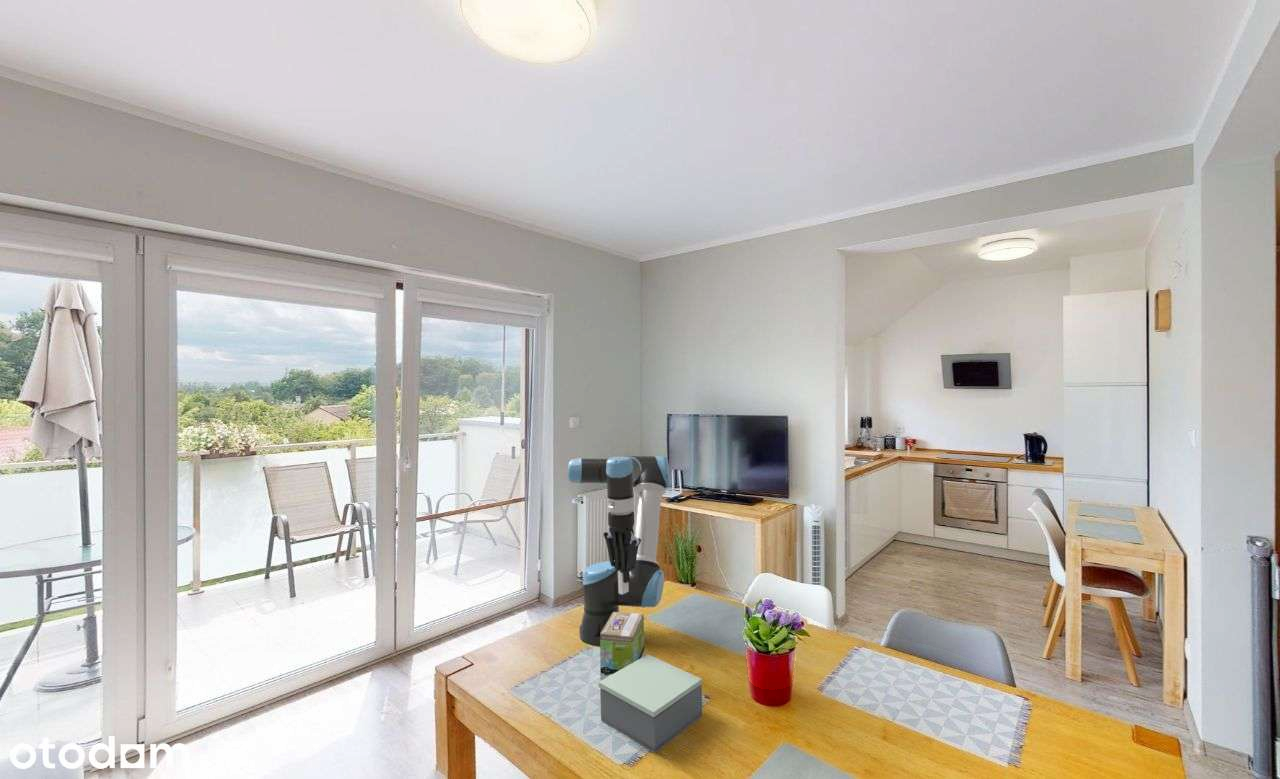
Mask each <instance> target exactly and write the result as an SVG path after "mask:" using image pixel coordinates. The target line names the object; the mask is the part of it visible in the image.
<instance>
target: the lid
mask: <svg viewBox="0 0 1280 779" xmlns="http://www.w3.org/2000/svg"><path fill="white" fill-rule="evenodd" d="M597 684H598V688H600V689H603V690H605V691H607V692H609V693H610V694H612V695H614V696H616V697H618V698H619V699H621V700H623V701H625V702H627V703H628V704H630V705H632V706H634V707H636V708H637V709H639V710H641V711H643V712H645V713H646V714H648V715H650V716H652V717H655V716H657V715H658V714H660V713H661V712H662V711H664V710H665V709H667V708H668V707H670V706H671V705H672V704H674V703H675V702H677V701H678V700H680V699H681V698H682V697H684V696H685V695H687V694H688V693H690V692H691V691H692V690H694V689H695V688H697V687H698V686H700V685H701V684H702V685H703V678H701V677H700V676H697V675H694V674H692V673H690V672H687V671H685V670H683V669H681V668H679V667H677V666H674V665H672V664H670V663H667V662H666V661H664V660H661V659H659V658H657V657H654V656H652V655H650V654H646V655H644V657H642V658H641V659H639V660H637V661H635V662H633V663H632V664H630V665H628V666H626V667H624V668H623V669H621V670H619V671H617V672H616V673H614V674H612V675H610V676H608V677H607V678H605V679H603V680H601V681H598V683H597Z"/></svg>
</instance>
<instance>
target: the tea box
mask: <svg viewBox="0 0 1280 779" xmlns="http://www.w3.org/2000/svg"><path fill="white" fill-rule="evenodd" d="M599 646H600V649H599V650H600V652H599V656H600V658H599V662H600V664H599V665H600V666H599V668H600V670H599V671H600V676H599V677H600V678H599V679H600V681H601V680H603V679H605V678H607V677H608V676H610V675H612V674H614V673H616V672H617V671H619V670H621V669H623V668H624V667H626V666H628V665H630V664H632V663H633V662H635V661H637V660H639V659H641V658H642V657H644V656H645V618H644V613H636V612H635V613H634V612H620V611H619V612H613V613H612V615H611V616H610V618H609V620H608V622H607V623H606V625H605V627H604V628H603V630H602V632H601V633H600V645H599Z"/></svg>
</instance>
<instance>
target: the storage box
mask: <svg viewBox="0 0 1280 779" xmlns="http://www.w3.org/2000/svg"><path fill="white" fill-rule="evenodd" d="M702 686H703V683H702V684H701V685H700V686H698V687H697V688H695V689H694V690H692V691H691V692H690V693H688V694H687V695H685V696H684V697H682V698H681V699H680V700H678V701H677V702H675V703H674V704H672V705H671V706H670V707H668V708H667V709H665V710H664V711H662V712H661V713H660V714H658V715H657V716H655V717H652V716H650V715H648V714H646V713H645V712H643V711H641V710H639V709H637V708H636V707H634V706H632V705H630V704H628V703H627V702H625V701H623V700H621V699H619V698H618V697H616V696H614V695H612V694H610V693H609V692H607V691H605V690H603V689H601V688H600V690H599V691H600V698H599V699H600V721H601V722H603V723H605V724H606V725H608V726H609V727H611V728H612V727H613V729H614V730H616V731H618V732H619V733H621V734H622V735H623V736H625V737H627V738H629V739H630V740H632V741H633V742H635V743H636V744H639V745H640V746H641V747H643V748H645V749H646V748H647V750H648V751H649V752H651V753H652V754H657V753H658V752H659V751H660V750H662V749H663V748H664V747H666V745H668V744H670V742H672V741H673V740H675V738H676V737H678V736H679V735H680V734H681V733H682V732H684V731H685V730H686V729H688V728H689V727H690V726H691V725H693V724H694V723H695V722H697V721H698V720H699V719H700V718H701V717H703V694H702V693H703V692H702V690H703V688H702Z"/></svg>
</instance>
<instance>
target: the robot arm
mask: <svg viewBox="0 0 1280 779" xmlns="http://www.w3.org/2000/svg"><path fill="white" fill-rule="evenodd" d="M567 477H568V479H569V481H570V482H571V483H574V484H575V483H576V484H606V488H607V489H606V493H607V511H608V513H607V525H608V526H609V530H607V531H605V532H603V537H604V539H605V543H606V548H607V551H608V557H609V561H601V562H596V563H594V564H591V565H589V566H587V567H586V568H585V570H584V571H583V578H582V579H583V580H582V586H583V587H582V589H583V590H582V591H583V616H582V619H581V624H580V626H579V630H578V632H579V634H578V635H579V639H580V640H581V641H582V642H584V643H585V644H586V643H587V644H589V645H594V646H600V633H601V632H602V630H603V628H604V627H605V625H606V623H607V622H608V620H609V618H610V616H611V615H612V613H613V612H620V610H619V606H621V607H637V608H639V607H640V608H644V609H646V608H655V607H657V606H658V605H659V604H660V602H661V599H662V596H663V590H664V587H665V586H664V585H665V573H664V570H662V569H661V564H659V562H658V561H657V554H658V553H657V552H658V544H659V543H658V541H659V526H660V518H661V516H660V515H661V506H662V505H661V503H662V497H663V496H664V495H665V494H666V491H667V489H669V488H671V484H672V483H671V482H672V480H671V479H672V478H671V472H670V465H669V460H668V458H667V457H665V456H664V455H663V456H660V455H626V456H624V455H623V456H613V457H609V458H581V457H580V458H573V459H570V461H569V462H568V466H567ZM634 491H635V493H636V494H637V497H636V498H637V499H636V509H635V502H634V501H635V500H634ZM634 510H635V512H634Z"/></svg>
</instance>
